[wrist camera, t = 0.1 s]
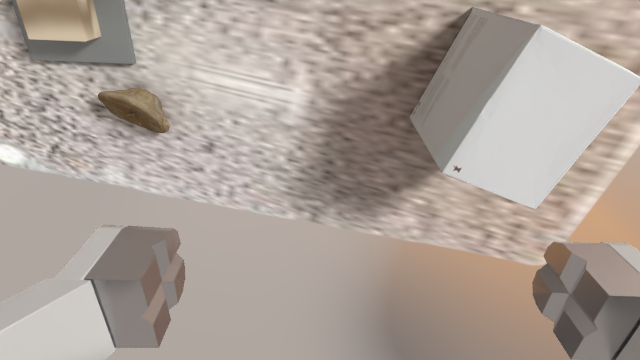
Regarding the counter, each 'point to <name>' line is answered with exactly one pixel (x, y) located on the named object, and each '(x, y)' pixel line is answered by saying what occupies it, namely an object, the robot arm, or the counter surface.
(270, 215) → the counter surface
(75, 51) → the build plate
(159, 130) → the fossil
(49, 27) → the maple base
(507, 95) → the supplement box
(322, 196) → the counter surface
